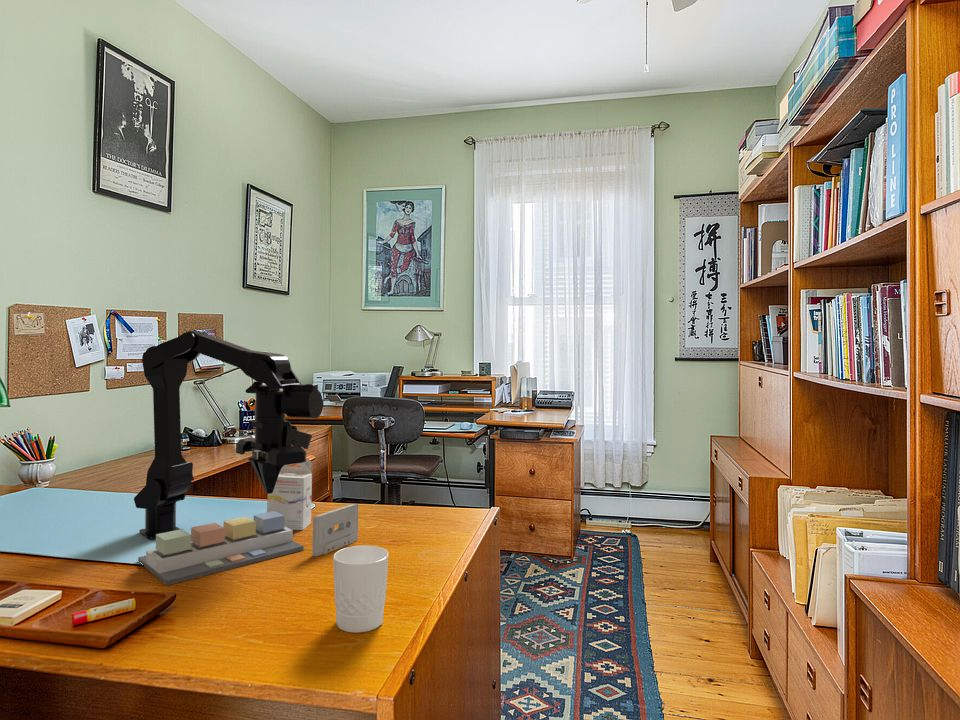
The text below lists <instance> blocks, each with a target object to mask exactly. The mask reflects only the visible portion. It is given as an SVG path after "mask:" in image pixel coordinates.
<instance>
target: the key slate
mask: <svg viewBox="0 0 960 720" xmlns="http://www.w3.org/2000/svg"><path fill="white" fill-rule="evenodd" d="M253 520H254V521H256V529H257V530H259V531H261V532H263V533H265V532H270V531H274V530H279V529H283V528H284V525H285V515H282V514H280V513H278V512H275V511H272V512H267V511H266V512H263V513H258V514H253Z"/></svg>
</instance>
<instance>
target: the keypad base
mask: <svg viewBox="0 0 960 720" xmlns="http://www.w3.org/2000/svg"><path fill="white" fill-rule="evenodd" d="M293 538H294V530H291V529H289V528H287V527H285V526H284V528H283V529H279V530H274V531H270V532H265V533H263V532H261V531H259V530H257V529H256V535H252V536H247V537H243V538H238V539H234V540H233V539H231V538H229V537H227V536H226V535H225V542H221V543H216V544H212V545H207V546H203V547H199V546H198V545H196V544H195V543H193V542H191V549H189V550H185V551H180V552H176V553H171V554H167V555H164V554H162V553H161V552H159V551H158V550H157V549H156V548H153V549H148V550H145V555H142V556H138V557H137V562H138V561H139V562H141V563H142V564H143V565H144V566H143V565H142V564H141V565H142V566H143V567H144V568H145V569H146V570H147V571H149V572H150V573H151V574H152V575H154V577H156V578H157V579H158V580H159V581H161V582H162V583H163V584H164V585H165V586H169V585H174V584H178V583H181V582H186V581H190V580H193V579H196V578H202V577H204V576H208V575H213V574H216V573H220V572H223V571H224V572H225V571H227V570H231V569H235V568H240V567H244V566H247V565H252V564H255V563H259V562H263V561H267V560H270V559H273V558H278V557H282V556H285V555H290V554H293V553H294V554H295V553H298V552H300V551H304V545H303V544H300V543H298V542H296V541H294V539H293ZM139 562H138V563H139Z"/></svg>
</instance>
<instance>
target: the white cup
mask: <svg viewBox="0 0 960 720" xmlns="http://www.w3.org/2000/svg"><path fill="white" fill-rule="evenodd" d="M332 561H333V586H334V587H333V589H334V605H335V624H336V626H337V628H338V629H339V630H341V631H344V632H347V633H355V634H359V633H367V632H370V631H372V630H373V631H374V630H375V629H378V628H379V627H380V626H381V625H382V624H383V622H384V614H385V613H384V611H385V604H386V595H387V585H388V581H387V580H388V567H389V566H388V565H389V551H388V550H387V549H386V548H383V547H381V546H376V545H354V546H348V547H343V548H342V549H341V548H340V550H337V551H336V552H334V554H333V560H332Z"/></svg>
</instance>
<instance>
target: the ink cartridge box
mask: <svg viewBox="0 0 960 720" xmlns="http://www.w3.org/2000/svg"><path fill="white" fill-rule="evenodd" d="M295 465H299V466H290V465H284V466H283V467H282V468H281V471H280V473H279V476H278V478H277V481H276V484H275V487H274V490H273V493H270V494H267V498H266V499H267V505H266V506H267V507H266V513H267V512H272V511H275V512H278V513H280V514H282V515H285V525H284V526H285V527H287V528H289V529H291V530H293V531H303V530H305V529H306V528H308V527H309V526H310V525H311V524H312V494H313V493H312V492H313V491H312V490H313V489H312V487H313V486H312V485H313V481H312V480H313V474H312V461H311V460H310V459H306V462H303V463H296V464H295Z"/></svg>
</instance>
